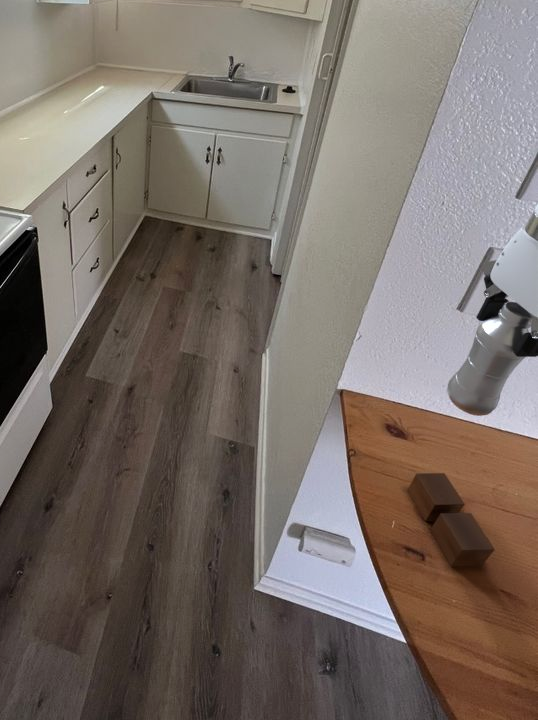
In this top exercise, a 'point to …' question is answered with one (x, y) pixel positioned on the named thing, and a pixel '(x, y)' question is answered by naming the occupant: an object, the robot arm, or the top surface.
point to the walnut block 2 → (461, 539)
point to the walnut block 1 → (434, 495)
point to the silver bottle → (489, 361)
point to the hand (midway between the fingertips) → (505, 335)
